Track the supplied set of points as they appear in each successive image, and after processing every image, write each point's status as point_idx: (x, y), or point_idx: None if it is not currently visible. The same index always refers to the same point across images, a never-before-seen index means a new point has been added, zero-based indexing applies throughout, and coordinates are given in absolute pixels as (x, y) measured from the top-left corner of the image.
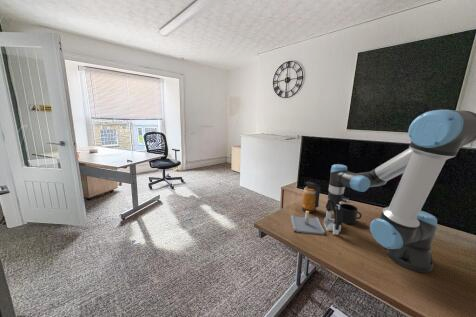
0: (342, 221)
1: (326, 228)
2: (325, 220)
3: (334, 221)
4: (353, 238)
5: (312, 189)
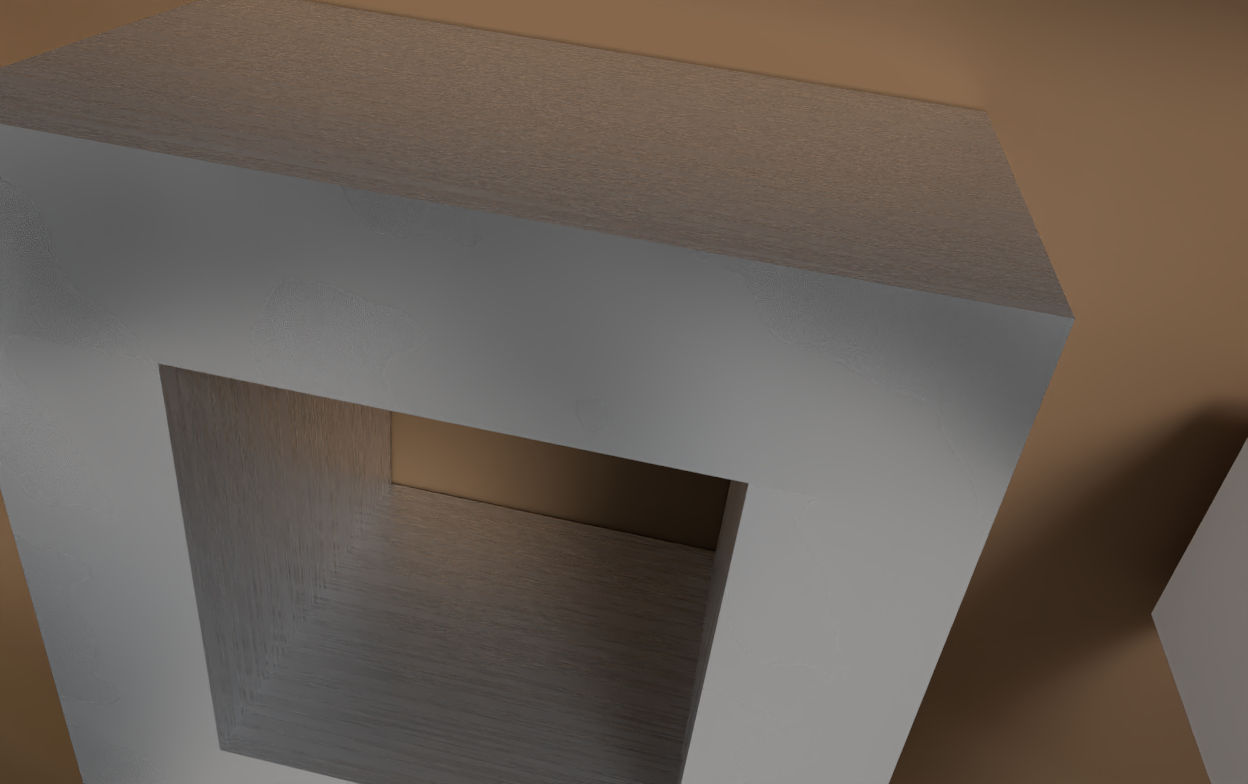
0: None
1: (321, 21)
2: (598, 218)
3: (677, 753)
4: (11, 704)
5: None
